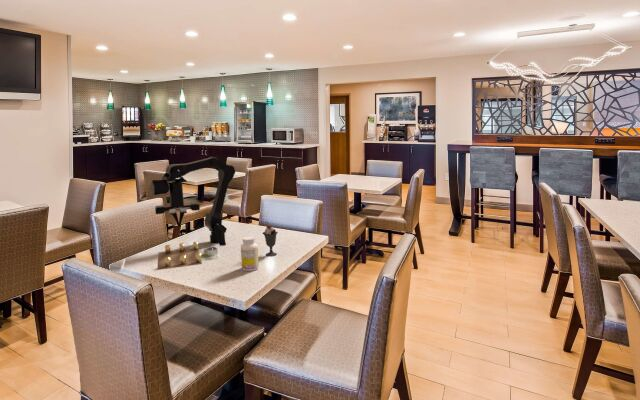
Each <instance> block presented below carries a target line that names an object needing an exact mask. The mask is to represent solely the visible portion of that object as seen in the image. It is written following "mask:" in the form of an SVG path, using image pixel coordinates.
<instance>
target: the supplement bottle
mask: <svg viewBox="0 0 640 400" xmlns="http://www.w3.org/2000/svg"><path fill="white" fill-rule="evenodd" d="M255 240H256V239H255V236H250V235H249V236H245V237H244V236H243V238H242V242H243V243H242V244H241V245H240V254H241V255H240V257H241V259H240V260H241V269H242V270H243V271H246V272H254V271H256V270H257V269H259V268H260V267H259V264H260V263H259V250H258V249H259V248H258V244H257V243H256V242H255Z"/></svg>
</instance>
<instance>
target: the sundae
mask: <svg viewBox="0 0 640 400" xmlns="http://www.w3.org/2000/svg"><path fill="white" fill-rule="evenodd" d="M265 223H266V224H267V226H266V228H265V230H264V231H263V232H262V235H263V236H264V239H265V240H264V241H265V244H266V246H267V247H268V248H269V252H267V253H265V256H267V257H275V256H277V255H278V253H277V252H274V251H273V247H274V246H275V245H276V241H277V234H278V233H279V232H278V231H276V228H274V227H273V226H270V225H269V223H268V221H265Z"/></svg>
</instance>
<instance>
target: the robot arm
mask: <svg viewBox="0 0 640 400" xmlns="http://www.w3.org/2000/svg"><path fill="white" fill-rule="evenodd" d="M209 167H212V168H213V169H214V170H215V171H217V178H218V183H217V188H216V191H215V195H214V199H213V203H212V208H211V210H210V211H209V213H208V212H206V213H205V218H204V219H203V221H204V225H205V227H206V228H207V229H208V230H209V231H210V234H209V240H210V241H209V243H210V244H218V245H219V246H226V244H227V243H226V233H227V227H226V226H225V225H223V216H222V215H223V214H222V212H223V207H224V203H225V199H226V197H227V192H228V188H229V185H230V183H231V182H232V180H233V178H234V176H235V174H236V169H235V167H234V166H233V165H231V164H227V163H225V162H223V161H221V160H220V159H218V158H217V157H215V156H209V157H208V158H203V159H199V160H196V161H195V160H194V161H192V162H191V161H190V162H187V163H173V164H169V165H167V167H166V168H165V173H164V174H163V176H162V177H161V179H151V180H150V181H151V182H150V187H149V189H150V194H151V195H152V196H153V197H154V196H160V195H161V196H162V195H167V194H168V193H169V196H166V197H165V200H166V205H169V206H165V205H164V204H163V205H161V204H160V205H155V207H154V209H155V210H154V211H155V215H162V214H164V213H166V212H168V214H169V215H171V216H172V217H173V218H174V220H175V222H176V224H177V227H178V228H179V227H181V225H182V221H183V218H184V215H185V214H187V213H188V211H187V210H191V211H200V210H201V209H200V207H201V206H200V204H199V203H198V202H195V201H193V202H189V204H185V202H184V201H185V199H184V190H183V183H187V179H185V178H184V176H186V175H187V174H189V173H190V172H195V171H198V170H202V169H203V170H204V169H207V168H209ZM177 211H178V213H177Z"/></svg>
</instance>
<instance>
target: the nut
mask: <svg viewBox="0 0 640 400" xmlns="http://www.w3.org/2000/svg"><path fill="white" fill-rule="evenodd" d="M218 250H219V249H218V248H217V247H216V246H209V247H208V246H207V247H206V248H204V255H206V256H215V255H216V254H217V255H218V254H219V251H218Z"/></svg>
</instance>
